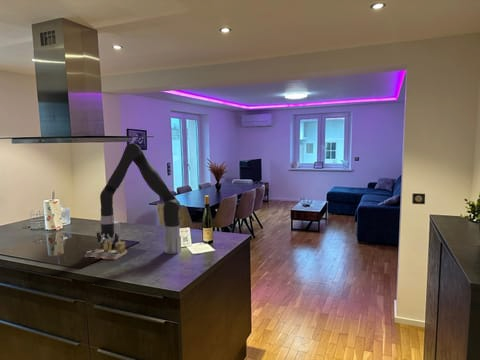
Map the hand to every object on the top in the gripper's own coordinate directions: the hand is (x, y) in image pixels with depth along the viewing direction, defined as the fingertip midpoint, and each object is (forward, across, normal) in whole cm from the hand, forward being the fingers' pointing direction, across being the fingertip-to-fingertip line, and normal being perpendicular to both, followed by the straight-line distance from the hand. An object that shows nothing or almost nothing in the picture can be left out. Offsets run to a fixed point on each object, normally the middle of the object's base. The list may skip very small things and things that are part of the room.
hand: (108, 248), depth 194 cm
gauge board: (+3, 0, +2) cm, 4 cm away
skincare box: (+3, +7, -16) cm, 18 cm away
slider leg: (+1, 0, +2) cm, 2 cm away
